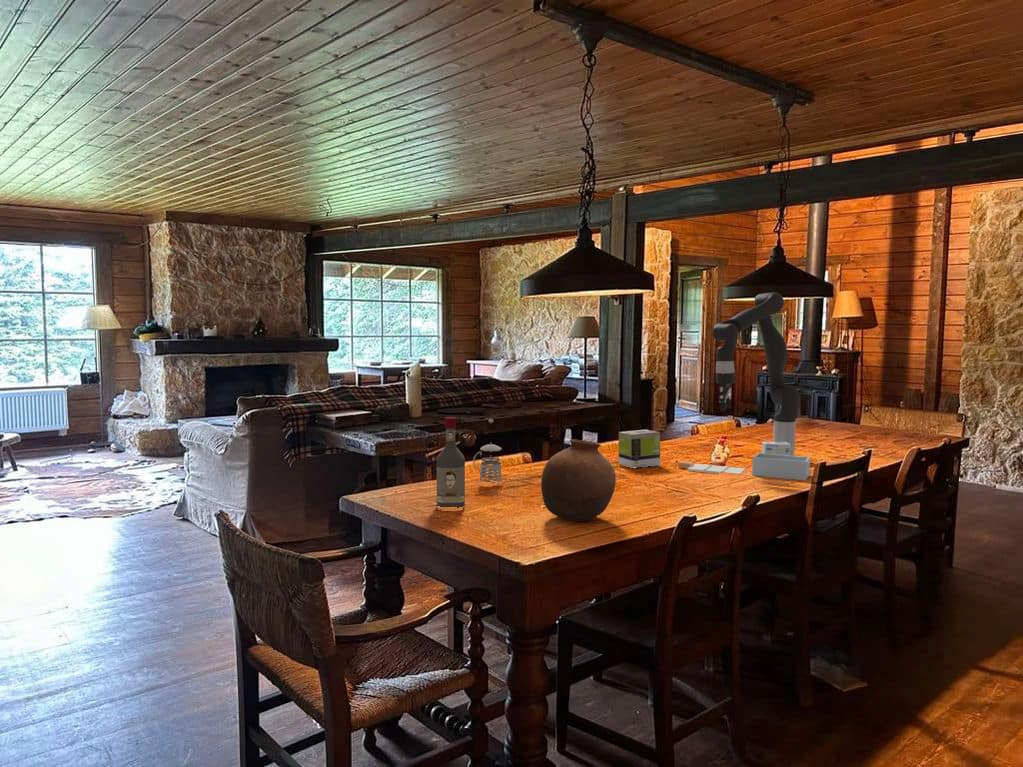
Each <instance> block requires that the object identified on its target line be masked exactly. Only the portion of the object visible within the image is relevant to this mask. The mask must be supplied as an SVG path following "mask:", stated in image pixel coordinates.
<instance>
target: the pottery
mask: <svg viewBox="0 0 1023 767" xmlns="http://www.w3.org/2000/svg"><path fill="white" fill-rule="evenodd" d="M569 441H570V444H571V446H569V447H567V448H565V449H563V450H561V451H559V452H557V453H555V454H554V455H553V456H551V457H550V458H549V459H548V461H547V462H546V463H545V465H544V467H543V470H542V474H541V483H540V485H541V486H540V488H541V495H542V501H543V504H544V506H545V508H546V509H547V511H549V512H550V513H551V514H553V515H555V516H556V517H559V518H561V519H565V520H569V521H574V520H575V522H576V521H577V522H585V521H590V520H592V519H594V518H596V517H598V516H601V515H602V514H603V513H604V511H605V510H606V509H607V507H608V506H609V503H610V502H611V500H612V498H613V495H614V493H615V489H616V480H617V478H616V472H615V469H614V467H613V465H612V463H610V461H609V460H608V459H607V458H606V457H605V456H604V455H603V454H601V453H600V451H599V450H598V449H599V448H600V447H601V446H602V444H601V443H599V442H594V441H587V440H583V439H580V440H579V439H573V438H570V439H569Z"/></svg>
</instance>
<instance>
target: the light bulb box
mask: <svg viewBox="0 0 1023 767" xmlns="http://www.w3.org/2000/svg"><path fill="white" fill-rule="evenodd" d="M761 453H765V454H777V455H789V456H790V454H791V444H789V443H788V442H773V441H761Z"/></svg>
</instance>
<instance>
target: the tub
mask: <svg viewBox="0 0 1023 767" xmlns="http://www.w3.org/2000/svg"><path fill="white" fill-rule="evenodd" d="M751 469H752V473H751V475H752V476H755V477H756V476H758V477H767V478H774V479H775V478H777V479H787V480H788V479H789V480H795V481H796V480H797V481H798V480H799V481H807V479H809V477H810V476H811V475H810V474H811V473H810V472H811V470H810V469H811V457H810V456H798V455H794V456H789V455H777V454H765V453H762V452H757V453H756V454H755V455H754V456H752V468H751Z"/></svg>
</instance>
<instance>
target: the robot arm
mask: <svg viewBox="0 0 1023 767" xmlns="http://www.w3.org/2000/svg"><path fill="white" fill-rule="evenodd" d="M753 303H754V307H751V308H748V309H745V310H743V311H740V312H739V313H738V314H736V315H734V316H732V317H731V318H728V319H726V320H723V321H721V322H718V323H717V324H716V325H714V327H713V329H712V331H711V335H712V337H713V339H714V340H715V341H720V342H721V341H722V342H724V343H723V345H722V346H718V347H717V348H716V352H715V353H716V357H715V359H716V363H715V383H716V384H720V386H719V387H718V388H717V389H718V395H717V396H718V398H717V400H718V402H719V406H720V407H719V410H720V412H721V413H723V412H724V413H725V412H726V411H727V410H730V409H731V400H732V398H733V395H732V394H733V392H732V391H733V390H732V386H733V385H732V384H734V383H735V382H736V381H735V378H736V377H735V371H736V370H735V353H734V352H735V348H736V345H737V340H738V338H739V333H741V332H743V331H745V330H746V329H748V328H749V327H751V326H752V325H754V324H756V323H757V322H758V324H759V328H760V332H761V338H762V343H763V349H764V350H763V351H764V355H765V358H766V359H765V360H766V364H767V365H766V366H767V372H768V377H769V379H768V380H769V393H770V399H771V401H772V402H773V403H774V404H775V405H779V406H780V410H779V412H777V413H775V414H773V431H772V432H773V436H772V438H773V439H772V442H788V443H789V444H791V454H790V456H795V451H796V450H795V449H796V447H795V446H796V422H797V420H796V419H797V416H798V414H799V413H798V412H799V405H800V404H799V403H800V393H799V389H797V387H796V386H793V385H786V383H785V378H784V371H785V366H786V364H787V361H788V349H787V343H786V340H785V338H784V337H783V335H782V334H781V333H780V331H779V330H778V329H777V328H776V327H775V325H774V322H773V320H772V315H774V314H778V313H779V312H781V311H782V309H783V308H784V306H785V305H784V304H785V303H784V297H783V296H782V294H780V293H779V292H764V293H759V294H757V295H756V296H755V298H754V301H753ZM726 409H727V410H726Z"/></svg>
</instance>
